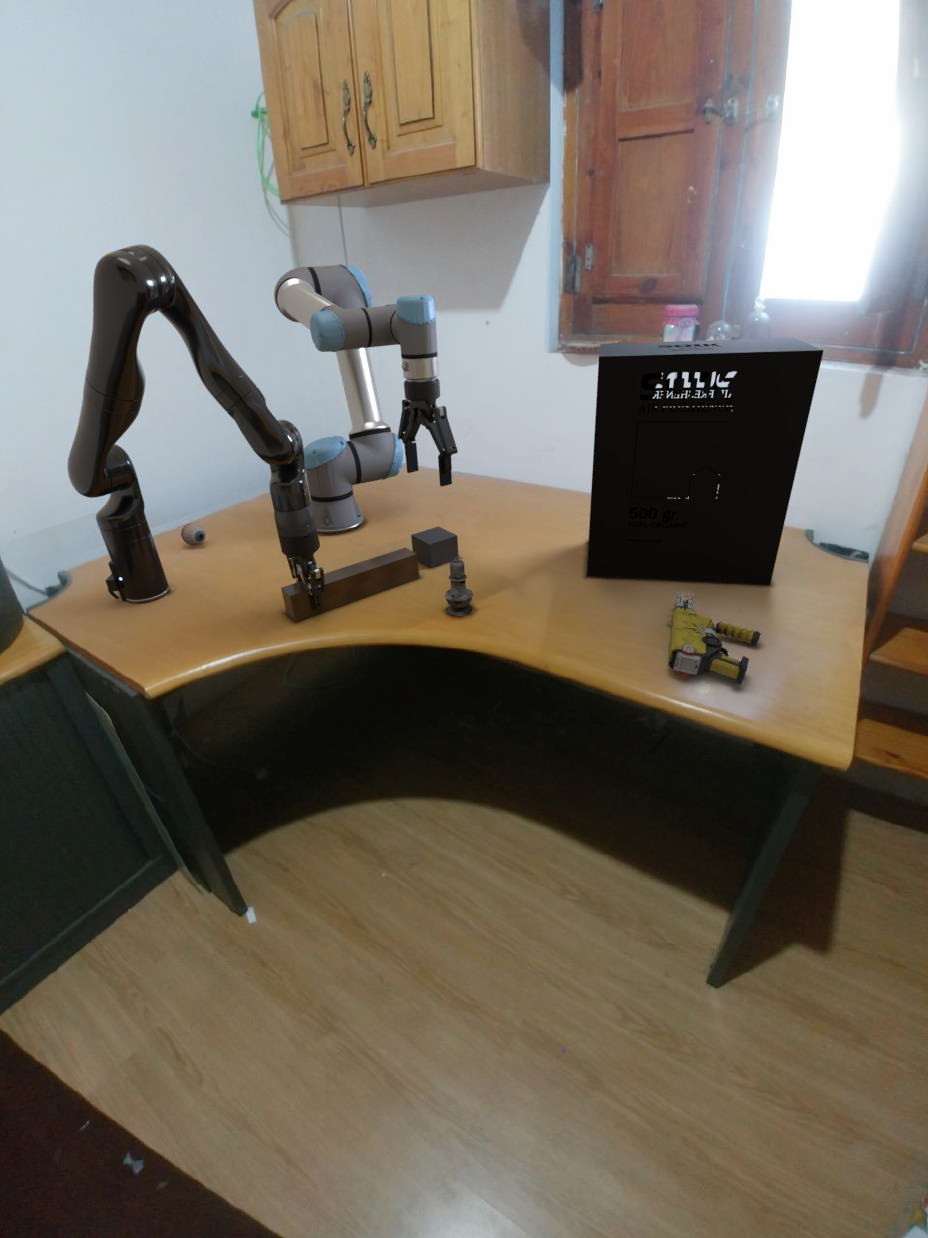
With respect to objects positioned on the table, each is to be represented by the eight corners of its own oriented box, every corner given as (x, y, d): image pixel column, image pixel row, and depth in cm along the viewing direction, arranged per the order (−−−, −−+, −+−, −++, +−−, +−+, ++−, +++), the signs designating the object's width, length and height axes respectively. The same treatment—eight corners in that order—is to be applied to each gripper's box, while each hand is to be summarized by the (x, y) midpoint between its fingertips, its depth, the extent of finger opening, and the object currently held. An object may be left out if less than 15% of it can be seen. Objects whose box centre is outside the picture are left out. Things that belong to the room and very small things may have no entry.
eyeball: (194, 551, 158) (188, 529, 155) (180, 546, 161) (173, 525, 158) (213, 542, 162) (208, 521, 159) (199, 539, 165) (192, 518, 162)
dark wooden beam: (295, 622, 123) (290, 596, 120) (286, 613, 126) (280, 587, 123) (419, 577, 137) (417, 553, 134) (408, 571, 141) (405, 547, 138)
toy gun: (759, 604, 113) (676, 588, 117) (772, 670, 93) (671, 649, 97) (752, 625, 115) (671, 610, 119) (763, 695, 95) (665, 673, 99)
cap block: (431, 567, 142) (429, 544, 139) (413, 557, 147) (410, 534, 144) (458, 558, 146) (457, 535, 143) (440, 548, 151) (438, 526, 148)
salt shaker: (471, 617, 120) (468, 562, 114) (442, 615, 121) (438, 561, 115) (476, 603, 125) (474, 550, 119) (449, 601, 126) (445, 549, 120)
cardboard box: (751, 546, 143) (793, 337, 120) (770, 584, 126) (823, 350, 103) (589, 540, 150) (600, 343, 128) (586, 576, 133) (598, 356, 111)
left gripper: (265, 523, 121) (282, 597, 130) (293, 543, 111) (309, 623, 119) (300, 514, 125) (314, 587, 133) (330, 532, 114) (343, 610, 123)
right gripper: (376, 375, 133) (386, 469, 144) (440, 388, 115) (446, 495, 126) (405, 370, 137) (413, 463, 148) (471, 382, 119) (475, 486, 130)
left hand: (312, 603), depth 126 cm, fingers closed on dark wooden beam, 5 cm apart
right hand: (428, 478), depth 137 cm, fingers open, 13 cm apart
